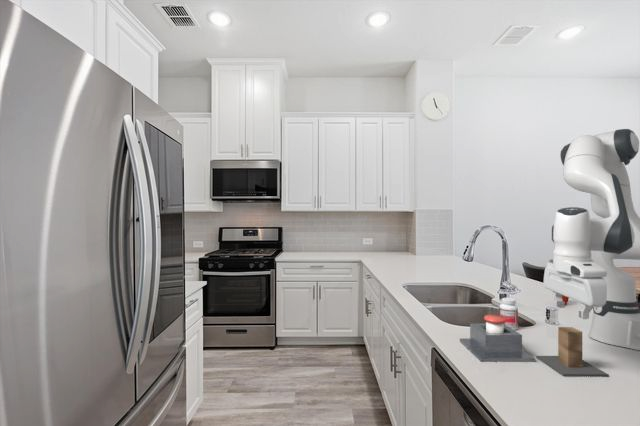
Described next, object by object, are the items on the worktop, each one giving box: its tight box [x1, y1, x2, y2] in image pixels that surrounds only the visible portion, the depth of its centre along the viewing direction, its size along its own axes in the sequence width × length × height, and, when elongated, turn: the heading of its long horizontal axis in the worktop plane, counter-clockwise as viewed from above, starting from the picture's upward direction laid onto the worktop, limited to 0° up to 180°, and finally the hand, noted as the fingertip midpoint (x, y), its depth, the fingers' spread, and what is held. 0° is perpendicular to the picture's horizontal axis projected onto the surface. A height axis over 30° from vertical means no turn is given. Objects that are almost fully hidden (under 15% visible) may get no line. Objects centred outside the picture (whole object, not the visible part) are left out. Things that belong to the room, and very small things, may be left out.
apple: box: [561, 295, 570, 306], centre depth 165 cm, size 6×6×8 cm
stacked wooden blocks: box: [557, 326, 583, 368], centre depth 99 cm, size 4×4×10 cm
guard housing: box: [459, 322, 536, 363], centre depth 110 cm, size 16×16×7 cm
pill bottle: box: [498, 297, 519, 331], centre depth 132 cm, size 6×6×11 cm
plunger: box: [483, 314, 505, 333], centre depth 110 cm, size 6×6×9 cm
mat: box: [535, 355, 610, 378], centre depth 99 cm, size 12×12×1 cm
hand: (571, 312), depth 99 cm, fingers open, 8 cm apart
